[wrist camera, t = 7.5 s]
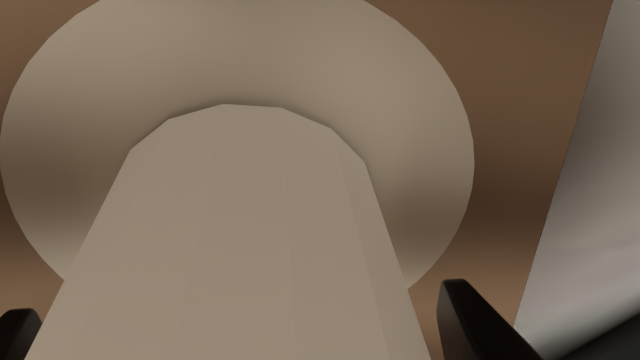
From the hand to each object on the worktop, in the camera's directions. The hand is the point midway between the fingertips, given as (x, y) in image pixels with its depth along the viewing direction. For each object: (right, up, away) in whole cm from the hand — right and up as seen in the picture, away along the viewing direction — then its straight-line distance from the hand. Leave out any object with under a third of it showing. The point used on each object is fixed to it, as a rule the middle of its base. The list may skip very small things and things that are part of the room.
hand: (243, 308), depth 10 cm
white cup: (0, +2, +2) cm, 3 cm away
